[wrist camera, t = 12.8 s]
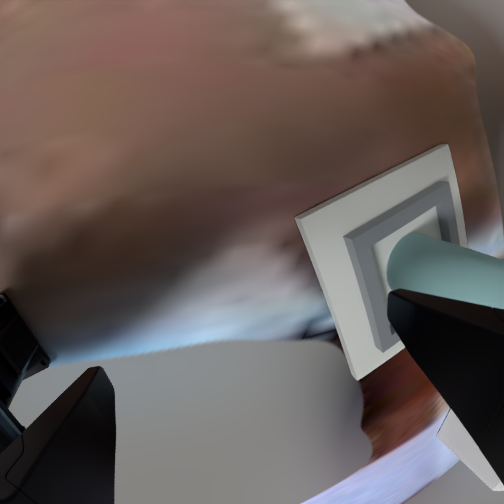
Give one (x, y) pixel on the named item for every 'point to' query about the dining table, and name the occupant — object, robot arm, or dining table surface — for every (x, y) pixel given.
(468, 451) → the milk carton
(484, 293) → the cup
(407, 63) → the dining table surface
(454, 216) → the dock
